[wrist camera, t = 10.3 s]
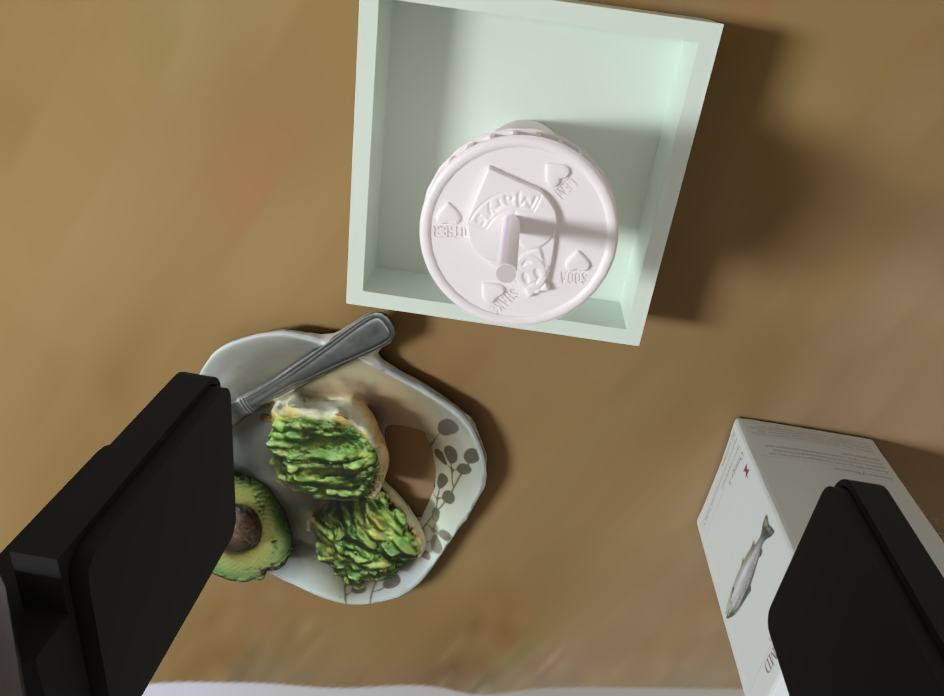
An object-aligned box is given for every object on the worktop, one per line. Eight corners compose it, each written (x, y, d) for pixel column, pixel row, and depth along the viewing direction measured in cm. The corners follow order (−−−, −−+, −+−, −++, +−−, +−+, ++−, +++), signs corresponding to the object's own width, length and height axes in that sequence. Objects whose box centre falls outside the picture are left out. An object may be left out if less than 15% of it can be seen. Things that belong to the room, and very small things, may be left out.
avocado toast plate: (242, 218, 34) (203, 253, 30) (558, 391, 37) (560, 443, 33) (126, 487, 43) (84, 541, 39) (391, 609, 46) (377, 671, 42)
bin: (703, 18, 28) (723, 24, 25) (629, 312, 35) (638, 346, 32) (379, -28, 29) (360, -27, 26) (363, 273, 35) (346, 303, 32)
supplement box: (732, 412, 37) (817, 605, 26) (875, 436, 37) (1022, 640, 26) (690, 521, 40) (749, 733, 29) (821, 543, 40) (929, 763, 29)
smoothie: (569, 60, 29) (593, 129, 17) (617, 205, 32) (668, 356, 19) (425, 120, 31) (350, 224, 18) (482, 254, 33) (450, 423, 21)
